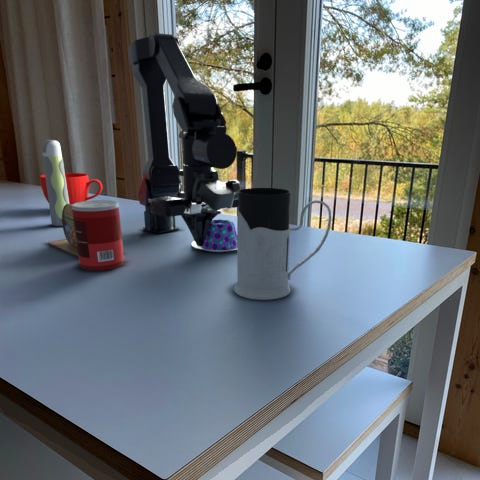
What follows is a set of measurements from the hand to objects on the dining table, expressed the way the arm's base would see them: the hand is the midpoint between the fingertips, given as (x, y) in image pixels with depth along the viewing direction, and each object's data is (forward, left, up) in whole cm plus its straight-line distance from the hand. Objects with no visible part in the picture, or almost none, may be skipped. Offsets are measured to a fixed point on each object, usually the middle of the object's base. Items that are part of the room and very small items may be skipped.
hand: (200, 246), depth 95 cm
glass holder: (+5, +27, -1) cm, 28 cm away
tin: (+16, -18, -1) cm, 24 cm away
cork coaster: (+16, -18, -1) cm, 24 cm away
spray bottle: (+9, -44, -1) cm, 45 cm away
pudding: (-5, 0, -1) cm, 5 cm away
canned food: (+19, -4, -1) cm, 20 cm away
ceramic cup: (-2, -60, -1) cm, 60 cm away
